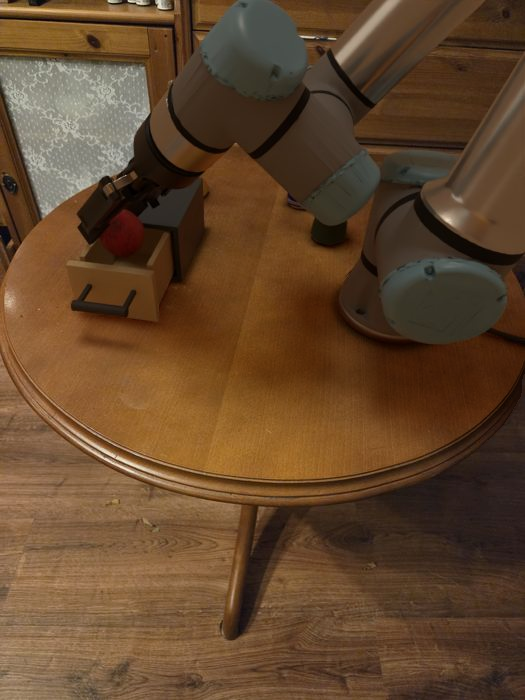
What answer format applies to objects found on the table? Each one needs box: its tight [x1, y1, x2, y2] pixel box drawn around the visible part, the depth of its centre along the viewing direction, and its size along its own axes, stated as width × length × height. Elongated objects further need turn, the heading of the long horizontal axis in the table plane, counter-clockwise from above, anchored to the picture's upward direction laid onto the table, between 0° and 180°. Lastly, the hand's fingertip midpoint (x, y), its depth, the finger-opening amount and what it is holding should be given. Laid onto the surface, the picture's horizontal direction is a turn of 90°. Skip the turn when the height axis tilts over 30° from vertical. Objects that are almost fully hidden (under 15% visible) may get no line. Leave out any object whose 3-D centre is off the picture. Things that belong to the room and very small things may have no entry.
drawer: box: [65, 228, 176, 323], centre depth 69 cm, size 19×11×8 cm, turn 172°
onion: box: [100, 209, 144, 258], centre depth 66 cm, size 6×6×8 cm
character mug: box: [310, 217, 348, 245], centre depth 83 cm, size 11×7×13 cm, turn 64°
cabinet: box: [138, 177, 206, 283], centre depth 79 cm, size 16×13×10 cm
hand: (104, 225), depth 68 cm, fingers closed on onion, 6 cm apart
